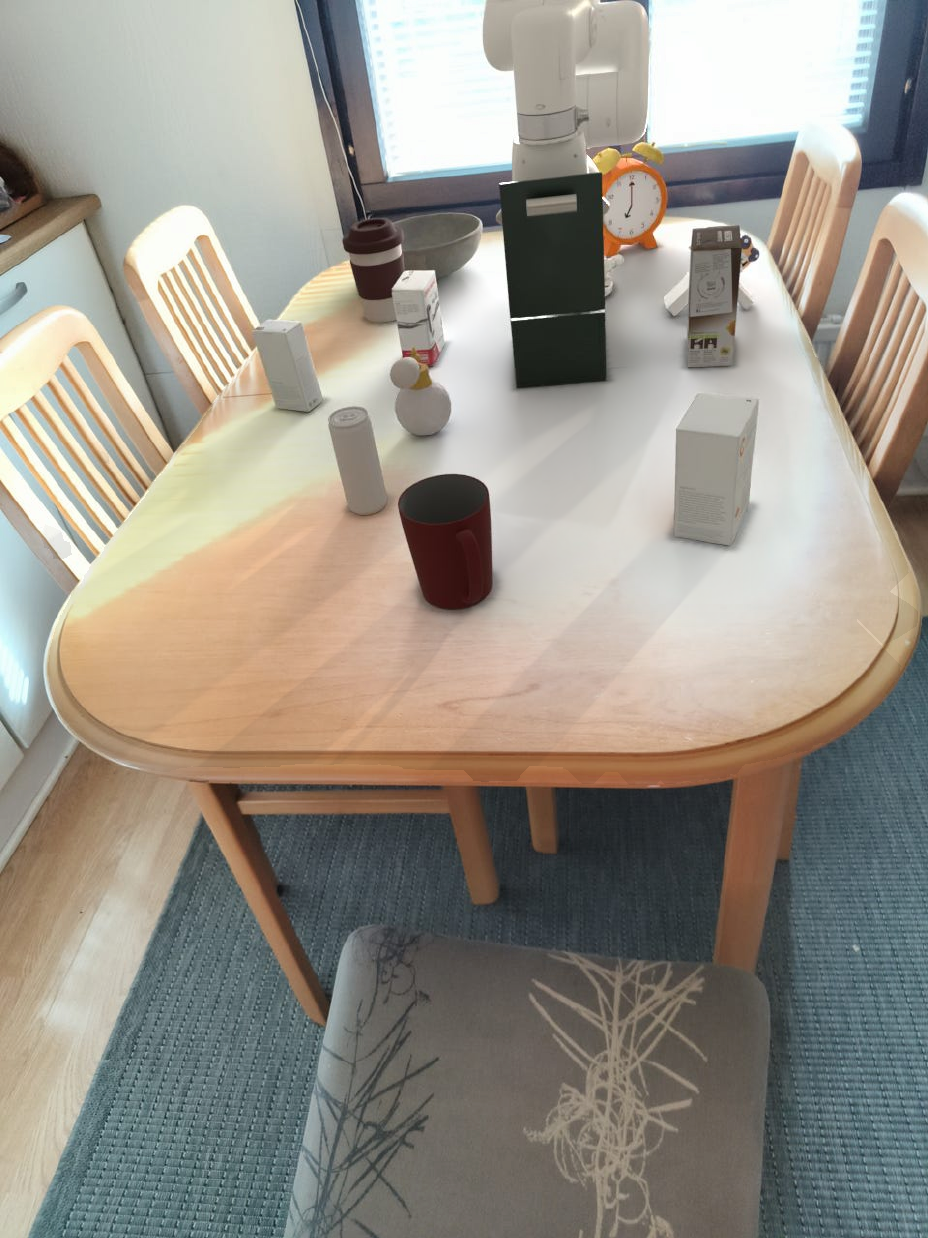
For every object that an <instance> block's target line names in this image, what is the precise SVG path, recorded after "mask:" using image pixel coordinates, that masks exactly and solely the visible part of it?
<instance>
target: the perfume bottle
mask: <svg viewBox="0 0 928 1238" xmlns="http://www.w3.org/2000/svg"><path fill="white" fill-rule="evenodd" d="M411 353H412V355H411V357H404V358H403V357H401V358H399V359H398V360H396V361H395V362H394V363H393V365H392V366H391V368H390V371H389V378H390V381H391V383H392V385H393V386H395V388H397V389H399V391H398V392H397V394H396V397H395V400H394V412H395V416H396V419H397V421H398V423H399V424H400V425H401V427H402V428H403V429H404V430H406V431H407V432H408V433H411V434H413V435H416V436H431V435H434V434H436V433H438V432H440V431H441V430H443V428H445V426H446V425H447V424H448V422H449V419H450V417H451V413H452V401H451V397H450V394H449V392H448V391H447V389H446V387H445V386H443V385H442V384H441V383H440V382H439V381H437V380H435V379H432V378H431V376H430V372H429V366H427V365H426V364H423V363H419V360H420V356H419V354H417V351H416V349H415V347H412V351H411Z"/></svg>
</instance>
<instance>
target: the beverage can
mask: <svg viewBox="0 0 928 1238" xmlns="http://www.w3.org/2000/svg"><path fill="white" fill-rule="evenodd" d="M327 422H328V423H327V426H328V431H329V435H330V440H331V443H332V447H333V451H334V455H335V460H336V463H337V467H338V472H339V476H340V479H341V483H342V484H341V485H342V487H343V488H342V489H343V491H344V496H345V500H346V505H347V508H348V509H349V510H350V511H351V512H352V513H354V514H355V515H358V516H370V515H374V514H377V513H378V512H380V511H381V510H383V509H384V507H385V506H386V504H387V502H388V495H387V490H386V486H385V481H384V477H383V472H382V471H383V470H382V466H381V462H380V457H379V453H378V447H377V442H376V438H375V433H374V429H373V425H372V419H371V416H370V414H369V411H368V410H367V409H366V408H365V407H361V406H357V405H356V406H345V407H342V408H338V409H337V410H335V411H333V412H331V413H330V414H329V416H328V417H327Z"/></svg>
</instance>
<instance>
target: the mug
mask: <svg viewBox="0 0 928 1238" xmlns="http://www.w3.org/2000/svg"><path fill="white" fill-rule="evenodd" d="M397 507H398V513H399V518H400V521H401V526H402V529H403V533H404V536H405V540H406V543H407V547H408V550H409V553H410V558H411V561H412V564H413V567H414V570H415V573H416V576H417V579H418V583H419V586H420V590H421V593H422V595H423V598H424V599H425V601H426V602H427V603H428V604H430V605H432V606H433V607H435V608H439V609H444V610H461V609H467V608H470V607H472V606H475V605H477V604H479V603H480V602H482V601H483V600H484V599H486V598H487V597H488V596H489V594H490V593H491V592H492V589H493V582H494V581H493V537H492V534H493V533H492V532H493V531H492V509H491V499H490V492H489V488H488V486H487V485H486V484H485V483H484V482H483V481H482V480H481V479H478V478H476V477H474V476H472V475H468V474H467V475H466V474H462V473H443V474H437V475H432V476H428V477H425V478H423V479H420V480H418V481H416V482H414V483H413V484H411V485H410V486H408V487H407V488H405V490H404V491H403V492H402V493H401V495H400V496H399V498H398V502H397Z"/></svg>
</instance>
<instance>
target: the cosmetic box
mask: <svg viewBox="0 0 928 1238" xmlns="http://www.w3.org/2000/svg"><path fill="white" fill-rule="evenodd" d="M251 334H252V337H253V340H254V343H255V346H256V349H257V352H258V355H259V358H260V361H261V364H262V368H263V370H264V374H265V377H266V380H267V383H268V385H269V389H270V392H271V395H272V399H273V402H274V405H275V408H276V409H280V410H287V411H297V412H303V413H309V412H311V411H313V410H314V409H315V408H316V407H318V406H319V404H321V403H322V402H323V400H324V397H323V393H322V390H321V387H320V381H319V379H318V375H317V372H316V368H315V364H314V361H313V357H312V354H311V349H310V347H309V346H310V345H309V343H308V339H307V337H306V333H305V329H304V325H303V322H302V321H295V320H282V319H269V318H268V319H266V320H265V321H263V322H262V323H260V324H259V325H258V326H256V328H254V329H253V330H252V331H251Z"/></svg>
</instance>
